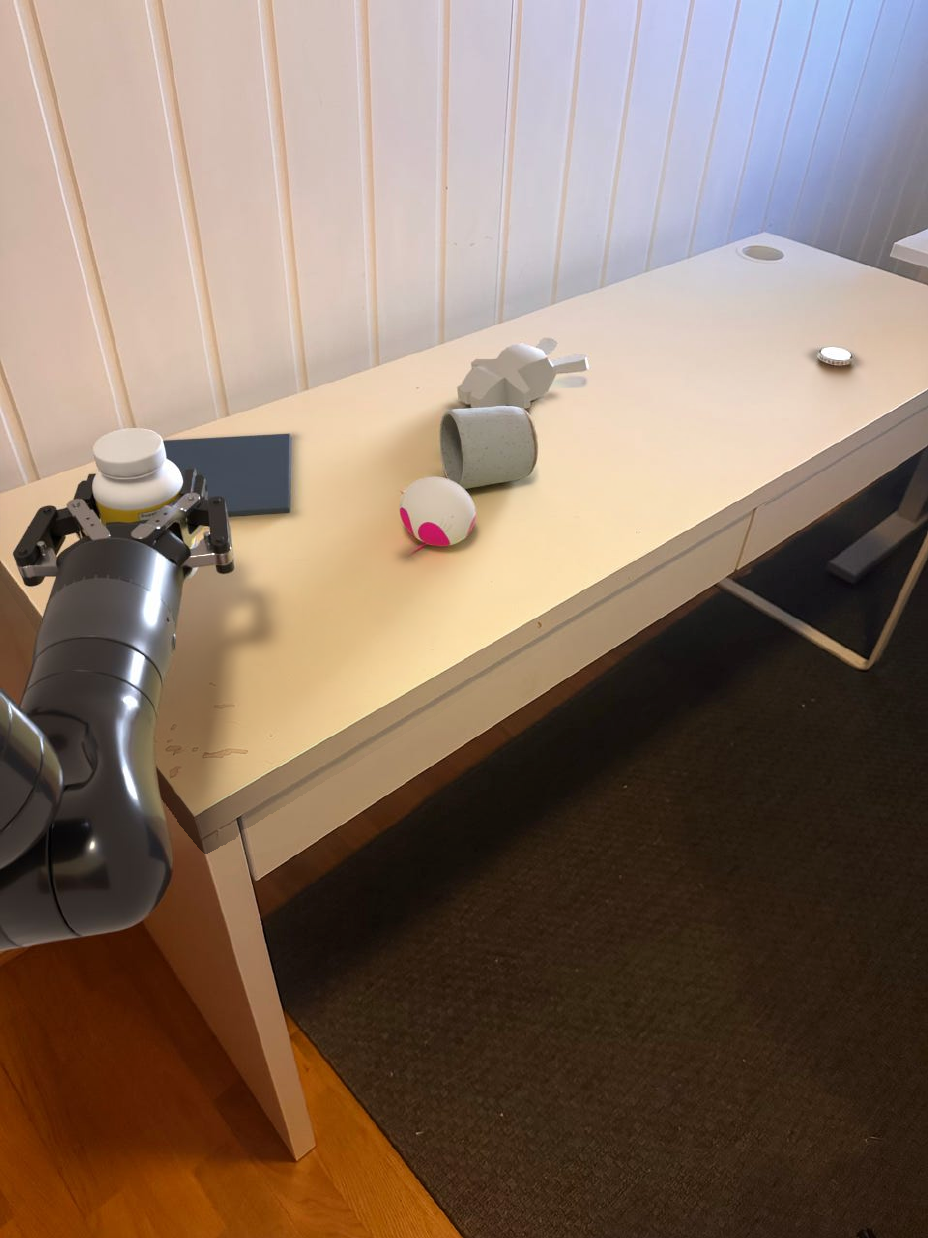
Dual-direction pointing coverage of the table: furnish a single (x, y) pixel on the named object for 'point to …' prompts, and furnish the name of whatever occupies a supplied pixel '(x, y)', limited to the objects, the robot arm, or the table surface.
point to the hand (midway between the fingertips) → (145, 481)
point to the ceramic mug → (487, 445)
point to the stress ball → (437, 511)
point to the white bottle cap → (835, 356)
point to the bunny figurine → (516, 375)
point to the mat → (239, 470)
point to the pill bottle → (134, 477)
